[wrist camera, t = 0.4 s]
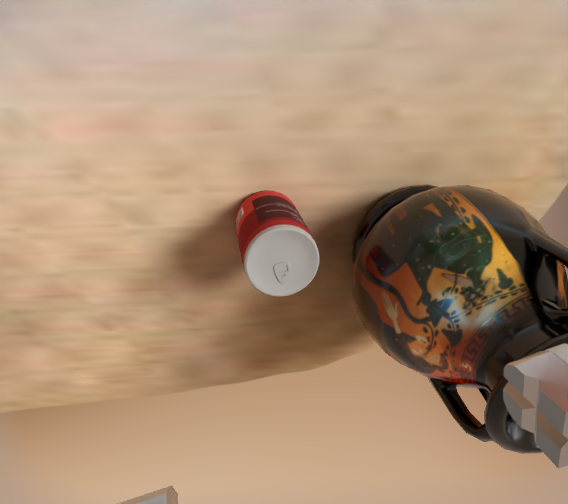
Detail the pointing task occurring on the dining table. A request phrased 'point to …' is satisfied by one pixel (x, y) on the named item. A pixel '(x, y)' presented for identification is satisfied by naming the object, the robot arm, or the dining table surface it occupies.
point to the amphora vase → (461, 294)
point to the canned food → (275, 244)
